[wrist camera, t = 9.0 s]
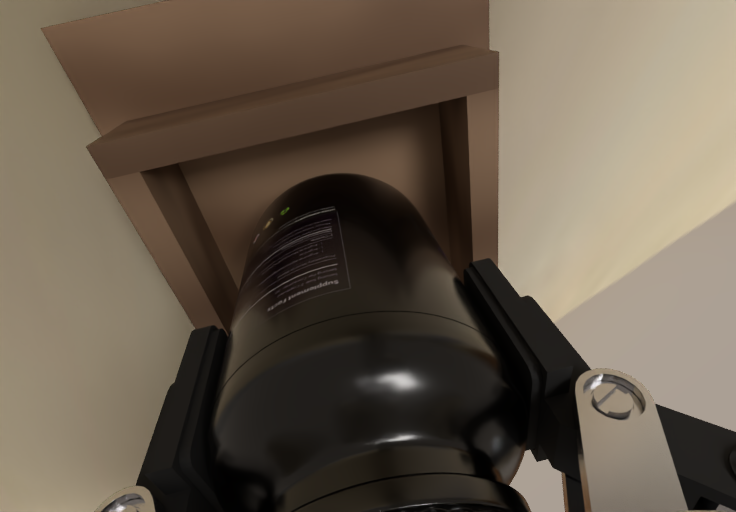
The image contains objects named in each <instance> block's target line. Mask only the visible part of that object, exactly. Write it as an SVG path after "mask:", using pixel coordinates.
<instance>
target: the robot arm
mask: <svg viewBox="0 0 736 512" xmlns="http://www.w3.org/2000/svg"><path fill="white" fill-rule="evenodd" d="M463 276H464V286H465V288H466V290H467V291H468V293H469V295H470V296H471V298H472V299H473V301H474V303H475V304H476V306H477V308H478V309H479V311H480V313H481V314H482V316H483V318H484V319H485V321H486V323H487V324H488V326H489V327H490V329H491V331H492V332H493V334H494V336H495V337H496V339H497V341H498V342H499V344H500V346H501V347H502V349H503V351H504V352H505V354H506V355H507V357H508V359H509V361H510V362H511V364H512V367H513V368H514V370H515V372H516V374H517V376H518V378H519V380H520V382H521V384H522V387H523V389H524V393H525V397H526V401H527V407H528V437H527V444H526V449H525V451H526V450H529V449H530V450H531V452H532V454H533V455H534V457H535V459H536V461H537V462H538V461H542V460H546V459H548V460H549V462H550V463H551V465H552V467H553V468H554V469H557V470H559V471H561V473H562V484H563V495H564V506H565V512H736V432H734V431H731V430H728V429H725V428H722V427H720V426H717V425H714V424H711V423H708V422H705V421H702V420H699V419H697V418H694V417H691V416H688V415H685V414H683V413H680V412H677V411H674V410H671V409H669V408H666V407H663V406H660V405H657V404H655V402H654V400H653V398H652V396H651V394H650V392H649V391H648V390H647V389H646V388H645V387H644V386H643V384H642V383H640V382H639V381H637V380H636V379H635V378H633V377H632V376H630V375H627V374H625V373H623V372H620V371H617V370H612V369H606V368H605V369H593V370H591V369H590V368H589V366H588V365H587V364H586V363H585V361H584V360H583V359H582V358H581V356H580V355H579V354H578V353H577V352H576V350H575V349H574V348H573V347H572V345H571V344H570V343H569V342H568V341H567V339H566V338H565V337H564V336H563V334H562V333H561V332H560V331H559V329H558V328H557V327H556V326H555V324H554V323H553V322H552V321H551V320H550V318H549V317H548V316H547V315H546V313H545V312H544V311H543V310H542V308H541V307H540V306H539V305H538V304H537V302H536V301H535V300H534V299H533V298H532V297H530V296H525V297H520V296H519V295H518V293H517V292H516V291H515V290H514V288H513V287H512V286H511V284H510V283H509V282H508V280H507V279H506V278H505V277H504V275H503V274H502V273H501V271H500V270H499V269H498V268H497V266H496V265H495V264H494V262H493V261H492V260H491V259H490V258H486V259H482V260H478V261H474V262H470V263H469V268H466V269H464V271H463ZM227 340H228V336H227V334H226V332H225V330H224V329H223V328H221V329H218V328H217V327H216V326H215V325H211V326H207V327H203V328H199V329H195V330H193V331H192V332H191V335H190V338H189V341H188V344H187V347H186V350H185V353H184V356H183V359H182V362H181V365H180V368H179V371H178V374H177V377H176V380H175V383H173V384H172V385H171V386H170V388H169V390H168V392H167V395H166V398H165V401H164V404H163V407H162V410H161V412H160V415H159V418H158V421H157V424H156V427H155V430H154V433H153V436H152V439H151V442H150V445H149V448H148V451H147V454H146V456H145V459H144V462H143V465H142V468H141V471H140V474H139V477H138V480H137V483H136V486H132V487H128V488H124V489H122V490H120V491H118V492H116V493H114V494H113V495H112V496H110V497H109V498H108V499H107V500H105V501H104V502H103V503H102V504H101V505H100V506H99V507H98V508H97V509H96V510H95V511H94V512H224V511H223V509H222V507H221V506H220V504H219V502H218V500H217V498H216V496H215V494H214V491H213V489H212V486H211V483H210V480H209V476H208V472H207V466H206V458H205V447H206V438H207V432H208V427H209V420H210V415H211V410H212V405H213V401H214V397H215V392H216V388H217V383H218V379H219V375H220V370H221V366H222V362H223V357H224V353H225V349H226V344H227Z"/></svg>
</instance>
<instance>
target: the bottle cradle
mask: <svg viewBox="0 0 736 512" xmlns="http://www.w3.org/2000/svg"><path fill="white" fill-rule="evenodd" d="M41 30H42V32H43V33H44V35H45V37H46V39H47V40H48V42H49V44H50V46H51V47H52V49H53V51H54V53H55V55H56V56H57V58H58V60H59V62H60V63H61V65H62V67H63V69H64V70H65V72H66V74H67V76H68V77H69V79H70V81H71V83H72V84H73V86H74V88H75V90H76V91H77V93H78V95H79V97H80V98H81V100H82V102H83V104H84V105H85V107H86V109H87V111H88V112H89V114H90V116H91V118H92V119H93V121H94V123H95V125H96V126H97V128H98V130H99V132H100V133H101V135H102V137H100V138H99V139H97V140H96V141H94V142H92V143H91V144H89V145H88V146H86V148H87V149H88V151H89V153H90V154H91V156H92V158H93V159H94V161H95V162H96V164H97V166H98V167H99V169H100V171H101V172H102V174H103V176H104V177H105V179H106V181H107V182H108V184H109V186H110V187H111V189H112V191H113V192H114V194H115V196H116V197H117V199H118V201H119V202H120V204H121V206H122V207H123V209H124V211H125V212H126V214H127V216H128V217H129V219H130V221H131V222H132V224H133V226H134V227H135V229H136V231H137V232H138V234H139V236H140V237H141V239H142V241H143V242H144V244H145V246H146V247H147V249H148V250H149V252H150V254H151V255H152V257H153V259H154V260H155V262H156V264H157V265H158V267H159V269H160V270H161V272H162V274H163V275H164V277H165V279H166V280H167V282H168V284H169V285H170V287H171V289H172V290H173V292H174V294H175V295H176V297H177V299H178V300H179V302H180V304H181V305H182V307H183V309H184V310H185V312H186V314H187V315H188V317H189V319H190V320H191V322H192V324H193V325H194V327H195V329H199V328H203V327H207V326H211V325H215V326H216V327H217V328H218V329H221V328H223V329H224V330H225V332H226V334H227V336H229V331H230V327H231V323H232V318H233V314H234V310H235V305H236V301H237V297H238V292H239V288H240V284H241V279H242V275H243V271H244V266H245V262H246V258H247V253H248V249H249V246H250V242H251V238H252V235H253V232H254V230H255V227H256V225H257V223H258V221H259V219H260V217H261V216H262V214H263V213H264V211H265V210H266V209H267V207H268V206H269V205H270V204H271V203H272V202H273V201H274V200H275V199H276V198H277V197H278V196H280V195H281V194H282V193H283V192H285V191H286V190H288V189H289V188H291V187H292V186H294V185H296V184H298V183H300V182H302V181H305V180H307V179H310V178H313V177H316V176H320V175H325V174H332V173H354V174H360V175H365V176H369V177H373V178H376V179H378V180H381V181H383V182H385V183H387V184H389V185H391V186H392V187H394V188H396V189H397V190H398V191H400V192H401V193H402V194H403V195H405V196H406V197H407V198H408V199H409V200H410V201H411V203H412V204H413V205H414V206H415V208H416V209H417V210H418V212H419V213H420V215H421V216H422V218H423V219H424V221H425V222H426V224H427V226H428V227H429V229H430V230H431V232H432V234H433V235H434V237H435V239H436V240H437V242H438V244H439V245H440V247H441V249H442V250H443V252H444V253H445V255H446V257H447V258H448V260H449V262H450V263H451V265H452V267H453V268H454V270H455V272H456V273H457V275H458V276H459V278H460V280H461V281H462V283H463V285H464V276H463V271H464V269H466V268H469V263H470V262H474V261H478V260H482V259H486V258H490V259H491V260H492V261H493V262H494V264H495V265H496V266H497V268H498V128H499V52H497V51H492V50H489V0H167V1H162V2H158V3H153V4H148V5H144V6H139V7H135V8H130V9H126V10H121V11H117V12H112V13H108V14H103V15H99V16H94V17H89V18H85V19H80V20H76V21H71V22H67V23H62V24H58V25H53V26H49V27H44V28H41Z"/></svg>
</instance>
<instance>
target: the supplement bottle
mask: <svg viewBox="0 0 736 512" xmlns="http://www.w3.org/2000/svg"><path fill="white" fill-rule="evenodd" d="M527 437H528V407H527V401H526V397H525V393H524V389H523V387H522V384H521V382H520V380H519V378H518V376H517V374H516V372H515V370H514V368H513V367H512V364H511V362H510V361H509V359H508V357H507V355H506V354H505V352H504V351H503V349H502V347H501V346H500V344H499V342H498V341H497V339H496V337H495V336H494V334H493V332H492V331H491V329H490V327H489V326H488V324H487V323H486V321H485V319H484V318H483V316H482V314H481V313H480V311H479V309H478V308H477V306H476V304H475V303H474V301H473V299H472V298H471V296H470V295H469V293H468V291H467V290H466V288H465V286H464V285H463V283H462V281H461V280H460V278H459V276H458V275H457V273H456V272H455V270H454V268H453V267H452V265H451V263H450V262H449V260H448V258H447V257H446V255H445V253H444V252H443V250H442V249H441V247H440V245H439V244H438V242H437V240H436V239H435V237H434V235H433V234H432V232H431V230H430V229H429V227H428V226H427V224H426V222H425V221H424V219H423V218H422V216H421V215H420V213H419V212H418V210H417V209H416V208H415V206H414V205H413V204H412V203H411V201H410V200H409V199H408V198H407V197H406V196H405V195H403V194H402V193H401V192H400V191H398V190H397V189H396V188H394V187H392V186H391V185H389V184H387V183H385V182H383V181H381V180H378V179H376V178H373V177H369V176H365V175H360V174H354V173H332V174H325V175H320V176H316V177H313V178H310V179H307V180H305V181H302V182H300V183H298V184H296V185H294V186H292V187H291V188H289V189H288V190H286V191H285V192H283V193H282V194H281V195H280V196H278V197H277V198H276V199H275V200H274V201H273V202H272V203H271V204H270V205H269V206H268V207H267V209H266V210H265V211H264V213H263V214H262V216H261V217H260V219H259V221H258V223H257V225H256V227H255V230H254V232H253V235H252V238H251V242H250V246H249V249H248V253H247V258H246V262H245V266H244V271H243V275H242V279H241V284H240V288H239V292H238V297H237V301H236V305H235V310H234V314H233V318H232V323H231V327H230V331H229V336H228V340H227V344H226V349H225V353H224V357H223V362H222V366H221V370H220V375H219V379H218V383H217V388H216V392H215V397H214V401H213V405H212V410H211V415H210V420H209V427H208V432H207V438H206V447H205V458H206V466H207V472H208V476H209V480H210V483H211V486H212V489H213V491H214V494H215V496H216V498H217V500H218V502H219V504H220V506H221V507H222V509H223V511H224V512H531V510H530V508H529V506H528V503H527V502H526V500H525V498H524V497H523V496H522V495H521V494H520V493H519V492H518V491H516V490H515V489H513V488H512V487H510V486H509V485H510V483H511V482H512V480H513V478H514V476H515V475H516V473H517V471H518V469H519V467H520V464H521V462H522V459H523V456H524V452H525V449H526V444H527Z"/></svg>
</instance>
